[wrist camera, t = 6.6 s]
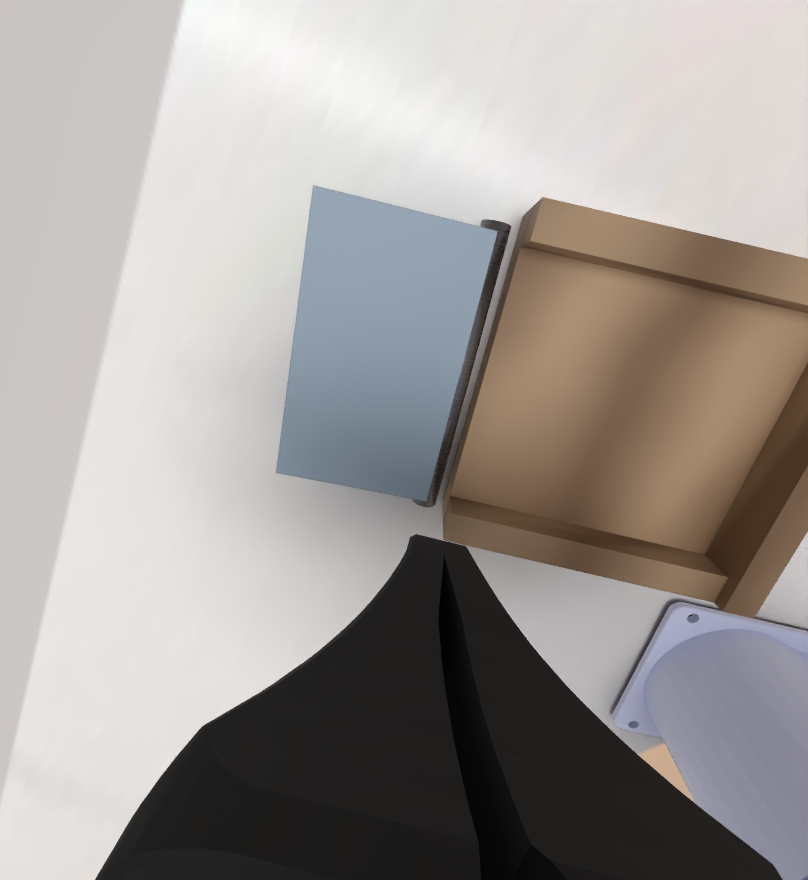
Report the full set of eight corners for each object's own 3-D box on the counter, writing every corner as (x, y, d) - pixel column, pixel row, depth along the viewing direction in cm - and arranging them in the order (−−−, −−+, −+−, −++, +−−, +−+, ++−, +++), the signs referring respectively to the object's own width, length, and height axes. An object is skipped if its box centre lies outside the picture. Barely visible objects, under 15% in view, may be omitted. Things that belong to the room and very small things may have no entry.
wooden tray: (845, 290, 15) (957, 288, 12) (698, 563, 19) (753, 618, 16) (523, 215, 15) (547, 193, 12) (442, 504, 19) (443, 547, 16)
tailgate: (515, 224, 14) (314, 174, 13) (436, 510, 17) (275, 479, 16) (505, 229, 15) (320, 183, 14) (434, 496, 18) (283, 467, 18)
